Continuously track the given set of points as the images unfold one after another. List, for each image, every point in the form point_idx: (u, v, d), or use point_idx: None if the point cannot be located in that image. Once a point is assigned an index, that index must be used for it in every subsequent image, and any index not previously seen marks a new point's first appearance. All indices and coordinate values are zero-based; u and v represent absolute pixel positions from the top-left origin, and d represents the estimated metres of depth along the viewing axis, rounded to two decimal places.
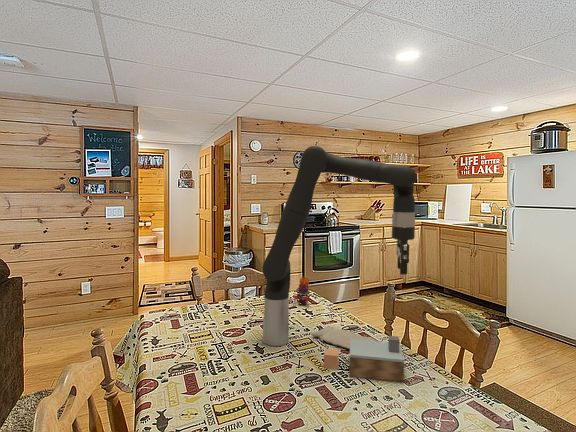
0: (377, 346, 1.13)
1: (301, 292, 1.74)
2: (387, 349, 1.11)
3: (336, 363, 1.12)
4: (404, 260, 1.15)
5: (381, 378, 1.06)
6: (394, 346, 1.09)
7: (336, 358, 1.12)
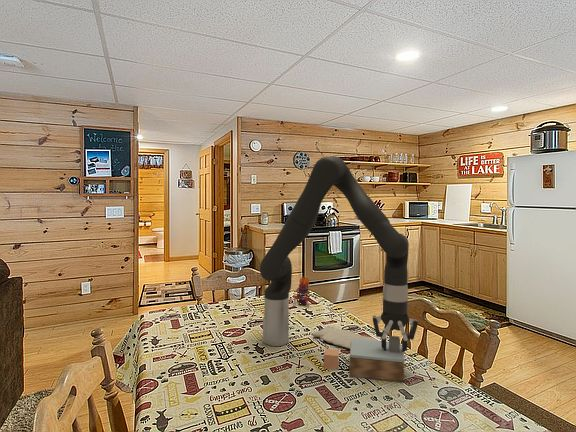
0: (378, 346, 1.13)
1: (301, 292, 1.74)
2: (388, 349, 1.11)
3: (336, 363, 1.12)
4: None
5: (381, 378, 1.06)
6: (395, 346, 1.09)
7: (336, 358, 1.12)
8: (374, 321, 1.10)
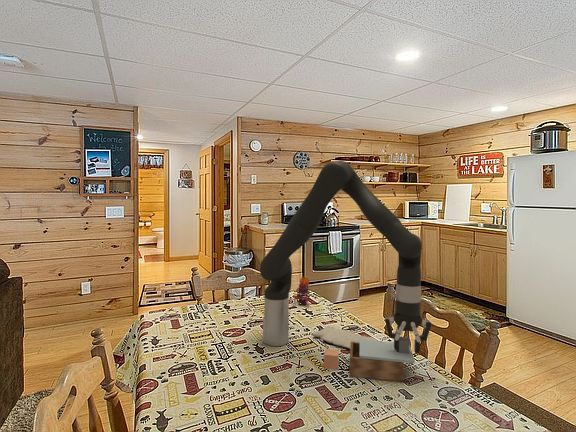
0: (386, 347, 1.12)
1: (301, 292, 1.74)
2: None
3: (336, 363, 1.12)
4: None
5: (381, 378, 1.06)
6: (404, 347, 1.08)
7: (336, 358, 1.12)
8: (387, 322, 1.09)
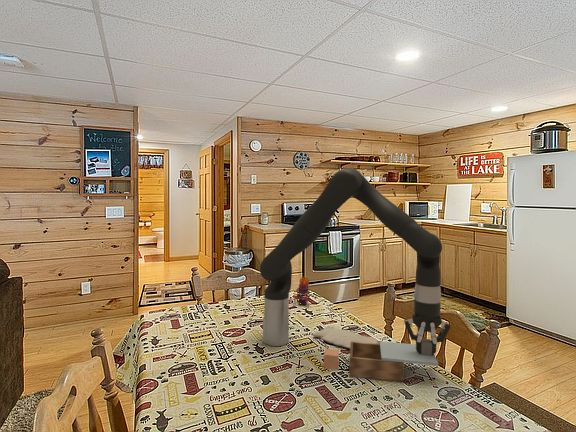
0: (408, 349, 1.11)
1: (301, 292, 1.74)
2: None
3: (336, 363, 1.12)
4: None
5: (381, 378, 1.06)
6: (426, 349, 1.07)
7: (336, 358, 1.12)
8: (406, 325, 1.08)
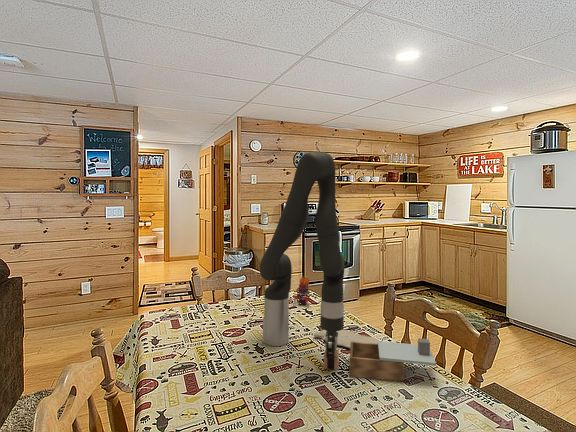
0: (406, 349, 1.11)
1: (301, 292, 1.74)
2: (417, 352, 1.09)
3: (336, 363, 1.12)
4: None
5: (381, 378, 1.06)
6: (424, 349, 1.07)
7: (336, 358, 1.12)
8: (334, 345, 1.08)
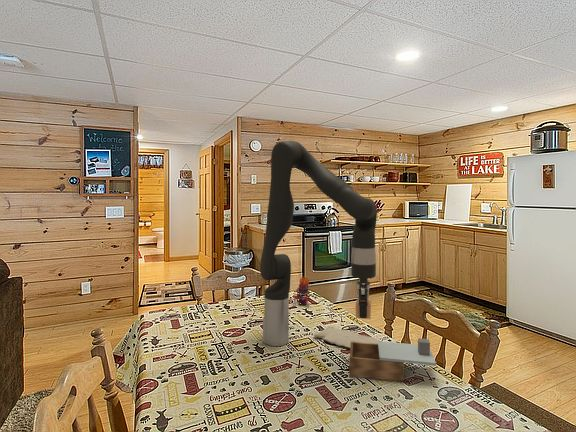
0: (406, 349, 1.11)
1: (301, 292, 1.74)
2: (417, 352, 1.09)
3: (369, 312, 1.08)
4: None
5: (381, 378, 1.06)
6: (424, 349, 1.07)
7: (369, 307, 1.08)
8: (367, 291, 1.04)
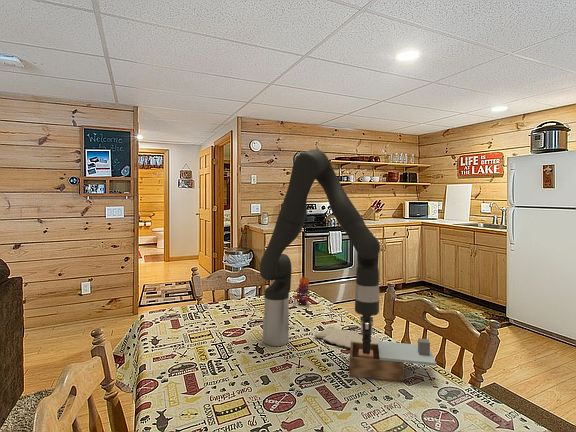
0: (406, 349, 1.11)
1: (301, 292, 1.74)
2: (417, 352, 1.09)
3: None
4: None
5: (381, 378, 1.06)
6: (424, 349, 1.07)
7: None
8: (371, 326, 1.05)
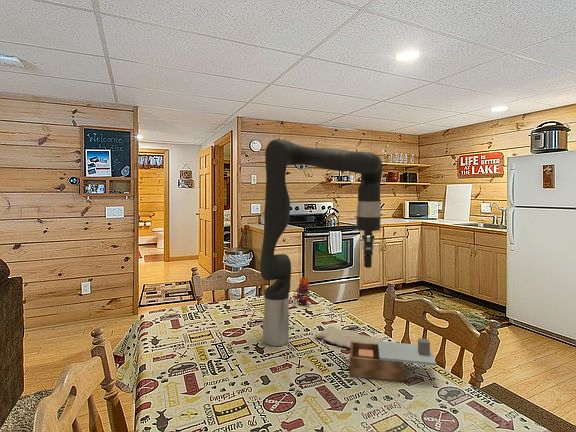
0: (406, 349, 1.11)
1: (301, 292, 1.74)
2: (417, 352, 1.09)
3: None
4: None
5: (381, 378, 1.06)
6: (424, 349, 1.07)
7: None
8: (372, 238, 1.07)
